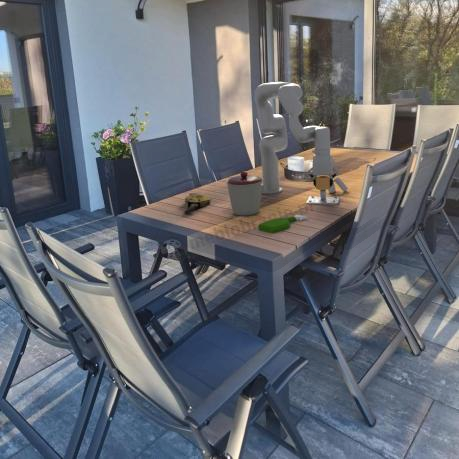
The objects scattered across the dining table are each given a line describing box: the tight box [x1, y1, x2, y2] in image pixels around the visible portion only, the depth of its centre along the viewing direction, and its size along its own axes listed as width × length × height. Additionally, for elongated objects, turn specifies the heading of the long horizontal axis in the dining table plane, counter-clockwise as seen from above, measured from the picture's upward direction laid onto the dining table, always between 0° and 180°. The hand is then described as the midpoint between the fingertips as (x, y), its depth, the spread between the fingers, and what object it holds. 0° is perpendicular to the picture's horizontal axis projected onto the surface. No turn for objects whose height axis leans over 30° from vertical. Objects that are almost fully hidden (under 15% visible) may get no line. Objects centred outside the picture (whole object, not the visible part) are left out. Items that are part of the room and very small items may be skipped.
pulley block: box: [183, 192, 212, 214], centre depth 261 cm, size 14×6×30 cm
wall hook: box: [327, 176, 349, 194], centre depth 269 cm, size 8×10×10 cm
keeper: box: [305, 190, 341, 206], centre depth 253 cm, size 16×12×7 cm
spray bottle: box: [258, 214, 310, 234], centre depth 222 cm, size 3×11×24 cm
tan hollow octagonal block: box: [315, 175, 330, 191], centre depth 250 cm, size 7×7×6 cm
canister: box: [225, 171, 263, 217], centre depth 240 cm, size 18×18×21 cm
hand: (323, 186), depth 251 cm, fingers closed on tan hollow octagonal block, 7 cm apart
